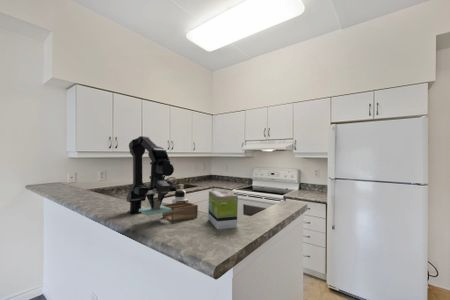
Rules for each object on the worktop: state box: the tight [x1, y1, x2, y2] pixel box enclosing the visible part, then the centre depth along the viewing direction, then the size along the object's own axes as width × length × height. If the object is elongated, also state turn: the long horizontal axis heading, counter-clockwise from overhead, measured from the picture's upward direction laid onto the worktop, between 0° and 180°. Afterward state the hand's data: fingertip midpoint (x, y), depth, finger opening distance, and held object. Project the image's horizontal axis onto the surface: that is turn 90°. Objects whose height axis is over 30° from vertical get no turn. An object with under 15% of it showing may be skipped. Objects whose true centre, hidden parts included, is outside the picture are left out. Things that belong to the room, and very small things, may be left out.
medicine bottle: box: [171, 189, 189, 204], centre depth 117 cm, size 7×7×12 cm
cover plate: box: [139, 199, 172, 217], centre depth 96 cm, size 9×12×5 cm
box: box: [162, 201, 199, 223], centre depth 106 cm, size 11×14×6 cm
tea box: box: [207, 190, 239, 230], centre depth 98 cm, size 15×10×15 cm
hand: (155, 207), depth 96 cm, fingers closed on cover plate, 3 cm apart
